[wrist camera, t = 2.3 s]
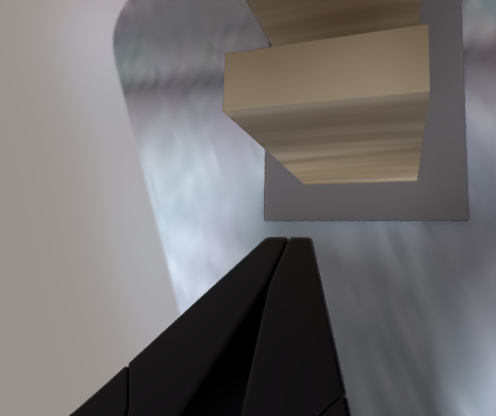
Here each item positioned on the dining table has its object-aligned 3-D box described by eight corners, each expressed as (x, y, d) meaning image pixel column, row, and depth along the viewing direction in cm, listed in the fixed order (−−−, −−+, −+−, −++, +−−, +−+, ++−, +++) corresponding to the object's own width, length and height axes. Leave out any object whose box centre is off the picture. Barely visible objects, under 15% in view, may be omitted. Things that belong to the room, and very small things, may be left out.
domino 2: (416, 181, 19) (429, 90, 10) (304, 184, 21) (222, 111, 11) (416, 146, 19) (428, 24, 10) (305, 152, 21) (225, 53, 11)
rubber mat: (467, 220, 18) (468, 219, 18) (266, 221, 21) (263, 220, 21) (455, -130, 21) (456, -138, 20) (275, -85, 24) (273, -91, 23)
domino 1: (415, 94, 19) (426, -71, 10) (306, 104, 21) (229, -29, 12) (414, 61, 20) (424, -131, 10) (306, 74, 21) (231, -81, 12)
